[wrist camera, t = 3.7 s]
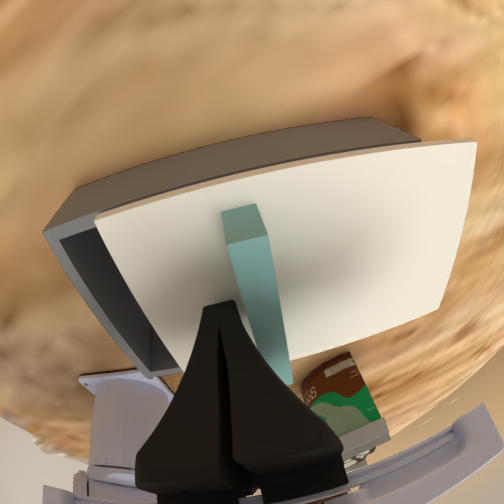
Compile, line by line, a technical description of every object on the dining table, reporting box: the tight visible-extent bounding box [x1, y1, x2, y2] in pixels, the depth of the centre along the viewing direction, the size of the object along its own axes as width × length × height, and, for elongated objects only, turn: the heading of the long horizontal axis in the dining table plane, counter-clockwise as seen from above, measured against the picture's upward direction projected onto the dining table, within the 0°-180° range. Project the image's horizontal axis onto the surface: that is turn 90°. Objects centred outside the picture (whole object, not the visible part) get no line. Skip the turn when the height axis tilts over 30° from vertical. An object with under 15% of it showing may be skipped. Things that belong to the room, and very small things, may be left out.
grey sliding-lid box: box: [42, 117, 421, 378], centre depth 15 cm, size 11×16×4 cm
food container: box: [301, 352, 391, 472], centre depth 25 cm, size 12×6×10 cm, turn 10°
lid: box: [94, 138, 477, 385], centre depth 12 cm, size 11×16×2 cm
